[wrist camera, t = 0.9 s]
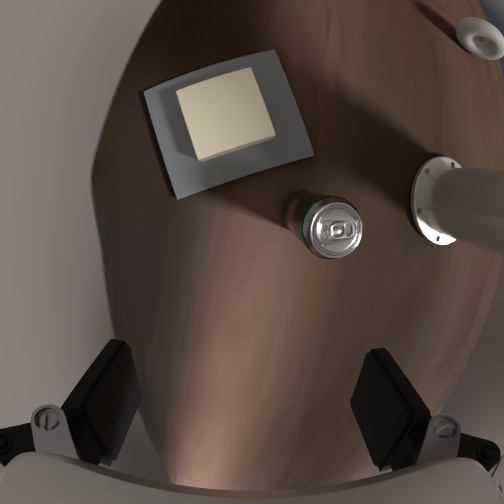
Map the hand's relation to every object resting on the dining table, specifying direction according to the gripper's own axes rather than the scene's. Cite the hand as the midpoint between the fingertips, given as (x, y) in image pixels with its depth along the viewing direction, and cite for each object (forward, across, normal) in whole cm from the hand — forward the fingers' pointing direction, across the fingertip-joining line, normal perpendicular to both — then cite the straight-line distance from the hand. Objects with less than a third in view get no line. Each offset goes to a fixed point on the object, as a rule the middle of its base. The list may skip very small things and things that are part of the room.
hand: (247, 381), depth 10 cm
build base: (+23, +3, -14) cm, 28 cm away
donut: (+25, -36, -38) cm, 58 cm away
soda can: (+24, -6, -4) cm, 25 cm away
